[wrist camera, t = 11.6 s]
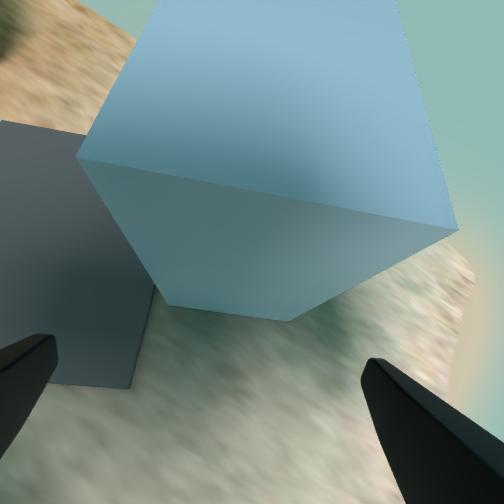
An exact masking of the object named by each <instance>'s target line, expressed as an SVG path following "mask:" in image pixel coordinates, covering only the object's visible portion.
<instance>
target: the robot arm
mask: <svg viewBox="0 0 504 504" xmlns="http://www.w3.org/2000/svg"><path fill="white" fill-rule="evenodd" d="M58 360H59V357H58V349H57V342H56V337H55V336H54V335H52V334H43V333H36V334H33V335H31V336H29V337H26V338H24V339H22V340H20V341H18V342H15V343H13V344H11V345H9V346H6V347H4V348H2V349H0V459H1V457H2V456H3V454H4V453H5V452H6V450H7V449H8V447H9V446H10V444H11V443H12V441H13V440H14V438H15V437H16V435H17V434H18V432H19V431H20V429H21V428H22V426H23V425H24V423H25V421H26V420H27V418H28V416H29V415H30V413H31V411H32V409H33V408H34V406H35V404H36V402H37V401H38V399H39V397H40V395H41V394H42V392H43V390H44V388H45V387H46V385H47V383H48V381H49V380H50V378H51V376H52V374H53V373H54V371H55V369H56V367H57V365H58ZM361 387H362V390H363V393H364V396H365V399H366V402H367V405H368V408H369V411H370V414H371V418H372V421H373V424H374V427H375V430H376V433H377V436H378V438H379V441H380V444H381V446H382V449H383V451H384V453H385V456H386V458H387V461H388V463H389V465H390V468H391V470H392V472H393V475H394V477H395V479H396V482H397V484H398V487H399V489H400V491H401V494H402V496H403V498H404V501H405V503H406V504H504V443H503V442H502V441H500V440H499V439H498V438H496V437H495V436H493V435H492V434H490V433H489V432H488V431H486V430H485V429H483V428H482V427H480V426H479V425H478V424H476V423H475V422H473V421H472V420H470V419H469V418H468V417H466V416H465V415H463V414H461V413H460V412H459V411H458V410H456V409H454V408H453V407H451V406H450V405H449V404H448V403H446V402H445V401H443V400H442V399H440V398H439V397H438V396H436V395H435V394H433V393H432V392H430V391H429V390H428V389H426V388H425V387H423V386H422V385H420V384H419V383H418V382H416V381H415V380H413V379H412V378H410V377H409V376H408V375H406V374H405V373H403V372H402V371H400V370H399V369H398V368H396V367H395V366H393V365H392V364H390V363H389V362H388V361H386V360H385V359H382V358H370V359H368V361H367V363H366V366H365V368H364V371H363V373H362V376H361Z"/></svg>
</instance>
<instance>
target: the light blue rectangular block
mask: <svg viewBox="0 0 504 504" xmlns="http://www.w3.org/2000/svg"><path fill="white" fill-rule="evenodd" d="M75 157H76V159H77V160H78V162H79V164H80V165H81V167H82V168H83V170H84V172H85V173H86V175H87V176H88V178H89V180H90V181H91V183H92V184H93V186H94V188H95V189H96V191H97V192H98V194H99V196H100V197H101V199H102V200H103V202H104V203H105V205H106V207H107V208H108V210H109V211H110V213H111V215H112V216H113V218H114V219H115V221H116V223H117V224H118V226H119V227H120V229H121V231H122V232H123V234H124V235H125V237H126V239H127V240H128V242H129V243H130V245H131V247H132V248H133V250H134V251H135V253H136V254H137V256H138V258H139V259H140V261H141V262H142V264H143V266H144V267H145V269H146V270H147V272H148V274H149V275H150V277H151V278H152V280H153V282H154V283H155V285H156V286H157V288H158V290H159V291H160V293H161V294H162V296H163V298H164V299H165V301H166V302H167V304H168V305H170V306H177V307H184V308H192V309H199V310H206V311H213V312H220V313H228V314H235V315H242V316H249V317H257V318H264V319H271V320H278V321H285V322H289V321H290V320H292V319H294V318H296V317H298V316H300V315H302V314H304V313H305V312H307V311H309V310H311V309H313V308H315V307H317V306H318V305H320V304H322V303H324V302H326V301H328V300H330V299H331V298H333V297H335V296H337V295H339V294H341V293H343V292H344V291H346V290H348V289H350V288H352V287H354V286H356V285H358V284H359V283H361V282H363V281H365V280H367V279H369V278H371V277H372V276H374V275H376V274H378V273H380V272H382V271H384V270H385V269H387V268H389V267H391V266H393V265H395V264H397V263H398V262H400V261H402V260H404V259H406V258H408V257H410V256H412V255H413V254H415V253H417V252H419V251H421V250H423V249H425V248H426V247H428V246H430V245H432V244H434V243H436V242H438V241H439V240H441V239H443V238H445V237H447V236H449V235H451V234H452V233H454V232H456V231H458V230H459V229H458V226H457V222H456V218H455V215H454V211H453V207H452V204H451V200H450V197H449V193H448V189H447V186H446V182H445V178H444V175H443V171H442V168H441V164H440V160H439V157H438V153H437V150H436V146H435V142H434V138H433V135H432V131H431V128H430V124H429V120H428V117H427V113H426V109H425V106H424V102H423V99H422V95H421V92H420V88H419V84H418V80H417V77H416V73H415V70H414V66H413V62H412V59H411V55H410V51H409V48H408V44H407V40H406V37H405V33H404V29H403V26H402V22H401V19H400V15H399V11H398V8H397V4H396V0H159V1H158V3H157V5H156V7H155V9H154V11H153V12H152V14H151V16H150V18H149V20H148V22H147V24H146V26H145V27H144V29H143V31H142V33H141V35H140V37H139V39H138V40H137V42H136V44H135V46H134V48H133V50H132V52H131V54H130V55H129V57H128V59H127V61H126V63H125V65H124V67H123V69H122V70H121V72H120V74H119V76H118V78H117V80H116V82H115V84H114V85H113V87H112V89H111V91H110V93H109V95H108V97H107V98H106V100H105V102H104V104H103V106H102V108H101V110H100V112H99V113H98V115H97V117H96V119H95V121H94V123H93V125H92V127H91V128H90V130H89V132H88V134H87V136H86V138H85V140H84V142H83V143H82V145H81V147H80V149H79V151H78V153H77V155H76V156H75Z"/></svg>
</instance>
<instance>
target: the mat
mask: <svg viewBox="0 0 504 504" xmlns="http://www.w3.org/2000/svg"><path fill="white" fill-rule="evenodd" d="M85 138H86V135H81V134H75V133H70V132H64V131H59V130H53V129H48V128H42V127H37V126H32V125H26V124H21V123H15V122H10V121H4V120H2V121H1V122H0V349H2V348H4V347H6V346H9V345H11V344H13V343H15V342H18V341H20V340H22V339H24V338H26V337H29V336H31V335H33V334H36V333H43V334H52V335H54V336H55V337H56V342H57V349H58V357H59V360H58V365H57V367H56V369H55V371H54V373H53V374H52V376H51V378H50V380H49V381H48V383H54V384H67V385H80V386H93V387H106V388H119V389H129V388H130V384H131V380H132V376H133V372H134V368H135V364H136V360H137V356H138V352H139V348H140V344H141V340H142V336H143V332H144V328H145V324H146V320H147V316H148V312H149V308H150V304H151V300H152V296H153V292H154V288H155V283H154V282H153V280H152V278H151V277H150V275H149V274H148V272H147V270H146V269H145V267H144V266H143V264H142V262H141V261H140V259H139V258H138V256H137V254H136V253H135V251H134V250H133V248H132V247H131V245H130V243H129V242H128V240H127V239H126V237H125V235H124V234H123V232H122V231H121V229H120V227H119V226H118V224H117V223H116V221H115V219H114V218H113V216H112V215H111V213H110V211H109V210H108V208H107V207H106V205H105V203H104V202H103V200H102V199H101V197H100V196H99V194H98V192H97V191H96V189H95V188H94V186H93V184H92V183H91V181H90V180H89V178H88V176H87V175H86V173H85V172H84V170H83V168H82V167H81V165H80V164H79V162H78V160H77V159H76V157H75V156H76V155H77V153H78V151H79V149H80V147H81V145H82V143H83V142H84V140H85Z"/></svg>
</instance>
